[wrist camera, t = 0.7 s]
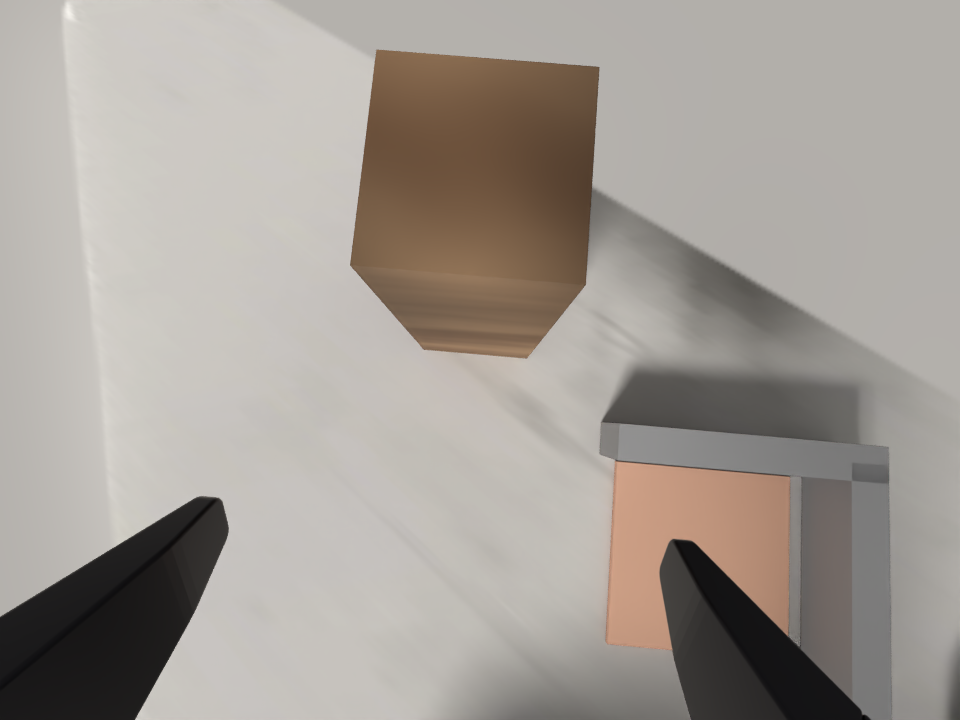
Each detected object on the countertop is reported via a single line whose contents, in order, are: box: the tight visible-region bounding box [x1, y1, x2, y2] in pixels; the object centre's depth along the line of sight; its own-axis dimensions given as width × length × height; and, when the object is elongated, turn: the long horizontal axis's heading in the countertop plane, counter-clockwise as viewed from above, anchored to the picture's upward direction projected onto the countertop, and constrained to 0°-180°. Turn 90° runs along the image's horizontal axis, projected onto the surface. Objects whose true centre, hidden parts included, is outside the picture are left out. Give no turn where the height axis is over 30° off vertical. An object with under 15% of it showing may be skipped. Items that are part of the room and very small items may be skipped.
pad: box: [606, 461, 790, 650], centre depth 22 cm, size 8×8×1 cm
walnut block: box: [350, 50, 599, 358], centre depth 17 cm, size 5×5×13 cm
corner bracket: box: [600, 422, 892, 720], centre depth 20 cm, size 14×11×3 cm
